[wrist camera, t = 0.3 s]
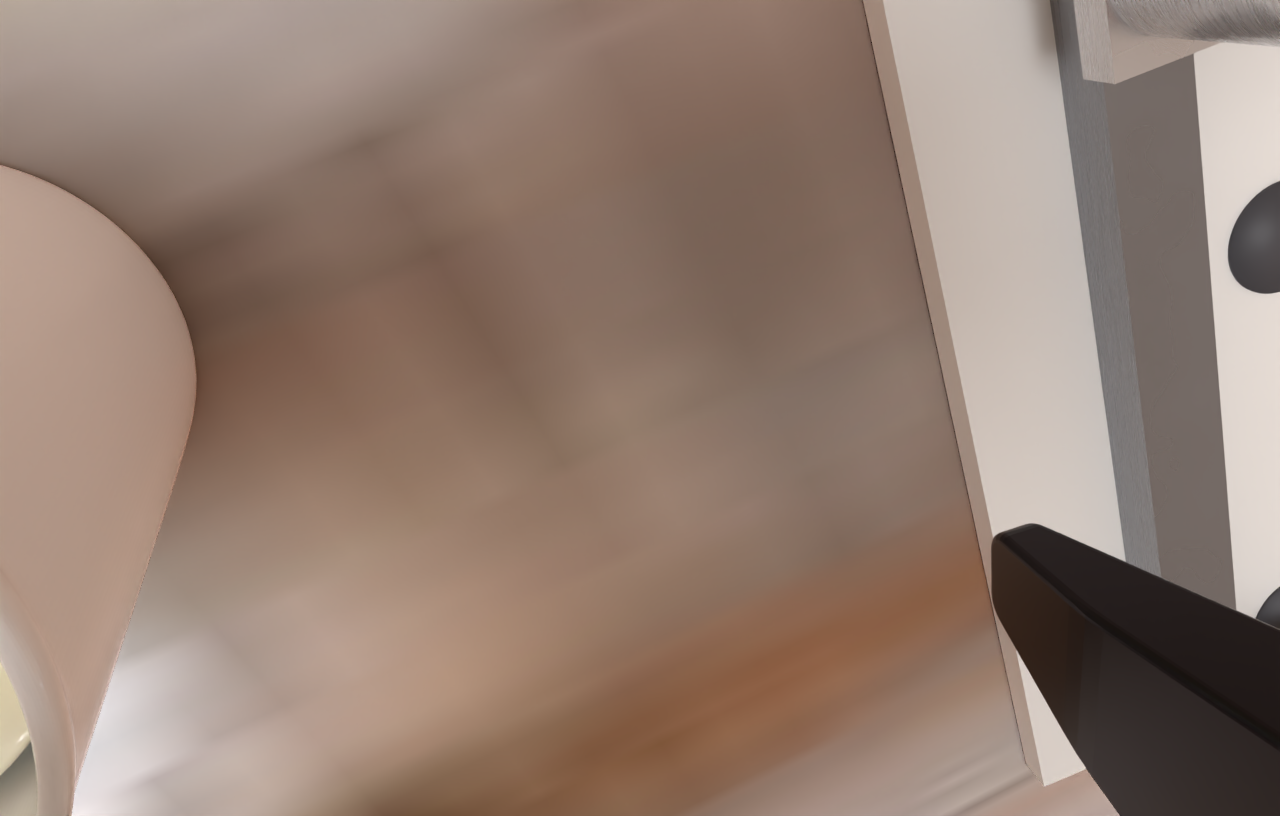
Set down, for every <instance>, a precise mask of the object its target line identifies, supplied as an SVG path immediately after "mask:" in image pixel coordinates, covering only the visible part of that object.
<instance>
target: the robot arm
mask: <svg viewBox="0 0 1280 816" xmlns="http://www.w3.org/2000/svg"><path fill="white" fill-rule="evenodd" d="M991 594H992V601H993V605H994V608H995V611H996V614H997V616H998V618H999V620H1000V622H1001V624H1002V626H1003V627H1004V629H1005V631H1006V633H1007V634H1008V636H1009V638H1010V640H1011V641H1012V643H1013V645H1014V647H1015V648H1016V650H1017V652H1018V654H1019V655H1020V657H1021V659H1022V661H1023V662H1024V664H1025V666H1026V668H1027V669H1028V671H1029V673H1030V675H1031V676H1032V678H1033V680H1034V682H1035V684H1036V685H1037V687H1038V689H1039V691H1040V692H1041V694H1042V696H1043V698H1044V699H1045V701H1046V703H1047V705H1048V706H1049V708H1050V710H1051V712H1052V713H1053V715H1054V717H1055V719H1056V720H1057V722H1058V724H1059V726H1060V727H1061V729H1062V731H1063V733H1064V734H1065V736H1066V738H1067V739H1068V741H1069V743H1070V744H1071V746H1072V748H1073V749H1074V751H1075V753H1076V754H1077V756H1078V757H1079V759H1080V760H1081V761H1082V763H1083V764H1084V766H1085V767H1086V769H1087V770H1088V772H1089V773H1090V775H1091V776H1092V777H1093V779H1094V780H1095V782H1096V783H1097V784H1098V786H1099V787H1100V789H1101V790H1102V791H1103V793H1104V794H1105V795H1106V797H1107V798H1108V800H1109V801H1110V802H1111V804H1112V805H1113V807H1114V808H1115V809H1116V811H1117V812H1118V813H1119V815H1120V816H1280V629H1278V628H1276V627H1274V626H1271V625H1269V624H1267V623H1264V622H1262V621H1260V620H1258V619H1255V618H1253V617H1251V616H1248V615H1246V614H1244V613H1242V612H1239V611H1237V610H1235V609H1232V608H1230V607H1228V606H1226V605H1223V604H1221V603H1219V602H1216V601H1214V600H1212V599H1210V598H1207V597H1205V596H1203V595H1200V594H1198V593H1196V592H1194V591H1191V590H1189V589H1187V588H1184V587H1182V586H1180V585H1178V584H1175V583H1173V582H1171V581H1168V580H1166V579H1164V578H1162V577H1159V576H1157V575H1155V574H1152V573H1150V572H1148V571H1146V570H1143V569H1141V568H1139V567H1136V566H1134V565H1132V564H1130V563H1127V562H1125V561H1123V560H1120V559H1118V558H1116V557H1114V556H1111V555H1109V554H1107V553H1104V552H1102V551H1100V550H1098V549H1095V548H1093V547H1091V546H1088V545H1086V544H1084V543H1082V542H1079V541H1077V540H1075V539H1072V538H1070V537H1068V536H1066V535H1063V534H1061V533H1059V532H1056V531H1054V530H1052V529H1050V528H1047V527H1045V526H1043V525H1040V524H1035V523H1028V524H1025V525H1021V526H1018V527H1015V528H1012V529H1009V530H1006V531H1003V532H1000V533H998V534H996V535H995V536H994V538H993V540H992V544H991Z"/></svg>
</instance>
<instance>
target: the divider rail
mask: <svg viewBox="0 0 1280 816" xmlns="http://www.w3.org/2000/svg"><path fill="white" fill-rule="evenodd" d="M1050 6H1051V13H1052V21H1053V28H1054V36H1055V43H1056V50H1057V58H1058V65H1059V72H1060V80H1061V87H1062V95H1063V102H1064V109H1065V117H1066V124H1067V132H1068V139H1069V146H1070V154H1071V161H1072V168H1073V176H1074V183H1075V191H1076V198H1077V205H1078V213H1079V220H1080V227H1081V235H1082V242H1083V250H1084V257H1085V264H1086V272H1087V279H1088V287H1089V294H1090V301H1091V309H1092V316H1093V323H1094V331H1095V338H1096V346H1097V353H1098V360H1099V368H1100V375H1101V383H1102V390H1103V397H1104V405H1105V412H1106V419H1107V427H1108V434H1109V442H1110V449H1111V456H1112V464H1113V471H1114V478H1115V486H1116V493H1117V501H1118V508H1119V515H1120V523H1121V530H1122V538H1123V545H1124V552H1125V560H1126V562H1127V563H1130V564H1132V565H1134V566H1136V567H1139V568H1141V569H1143V570H1146V571H1148V572H1150V573H1152V574H1155V575H1157V576H1159V577H1162V578H1164V579H1166V580H1168V581H1171V582H1173V583H1175V584H1178V585H1180V586H1182V587H1184V588H1187V589H1189V590H1191V591H1194V592H1196V593H1198V594H1200V595H1203V596H1205V597H1207V598H1210V599H1212V600H1214V601H1216V602H1219V603H1221V604H1223V605H1226V606H1228V607H1230V608H1232V609H1235V610H1236V598H1235V585H1234V572H1233V559H1232V546H1231V533H1230V520H1229V507H1228V494H1227V481H1226V468H1225V455H1224V442H1223V429H1222V416H1221V403H1220V390H1219V377H1218V364H1217V351H1216V338H1215V325H1214V312H1213V299H1212V286H1211V273H1210V261H1209V248H1208V235H1207V222H1206V209H1205V196H1204V183H1203V170H1202V157H1201V144H1200V131H1199V118H1198V105H1197V92H1196V79H1195V66H1194V53H1193V54H1191V55H1188V56H1186V57H1183V58H1181V59H1178V60H1176V61H1173V62H1170V63H1168V64H1165V65H1163V66H1160V67H1158V68H1155V69H1153V70H1150V71H1147V72H1145V73H1142V74H1140V75H1137V76H1135V77H1132V78H1130V79H1127V80H1124V81H1122V82H1119V83H1117V84H1111V83H1105V82H1098V81H1092V80H1085V79H1083V74H1082V66H1081V58H1080V50H1079V42H1078V34H1077V26H1076V18H1075V10H1074V2H1073V0H1050Z"/></svg>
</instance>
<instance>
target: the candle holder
mask: <svg viewBox="0 0 1280 816" xmlns="http://www.w3.org/2000/svg"><path fill="white" fill-rule="evenodd" d="M195 401H196V364H195V357H194V351H193V346H192V341H191V337H190V334H189V330H188V327H187V324H186V321H185V319H184V316H183V314H182V311H181V309H180V307H179V305H178V303H177V301H176V299H175V297H174V295H173V293H172V291H171V289H170V288H169V286H168V284H167V283H166V281H165V280H164V278H163V277H162V275H161V274H160V272H159V271H158V269H157V268H156V267H155V265H154V264H153V263H152V261H151V260H150V259H149V258H148V256H147V255H146V254H145V253H144V252H143V251H142V250H141V248H140V247H139V246H138V245H137V244H136V243H135V242H134V241H133V240H132V239H131V238H130V237H129V236H128V235H127V234H126V233H125V232H124V231H122V230H121V229H120V228H119V227H118V226H117V225H116V224H114V223H113V222H112V221H111V220H109V219H108V218H107V217H106V216H104V215H103V214H102V213H100V212H99V211H97V210H96V209H95V208H93V207H92V206H90V205H89V204H87V203H86V202H84V201H82V200H81V199H79V198H78V197H76V196H74V195H72V194H71V193H69V192H67V191H65V190H63V189H61V188H59V187H57V186H55V185H53V184H51V183H49V182H47V181H44V180H42V179H40V178H37V177H35V176H32V175H30V174H27V173H24V172H22V171H19V170H16V169H13V168H9V167H6V166H2V165H0V816H71V815H72V808H73V801H74V793H75V789H76V786H77V783H78V780H79V777H80V773H81V770H82V767H83V764H84V761H85V758H86V755H87V752H88V748H89V745H90V742H91V739H92V736H93V733H94V730H95V727H96V724H97V721H98V718H99V715H100V712H101V708H102V705H103V702H104V699H105V696H106V693H107V690H108V687H109V684H110V681H111V678H112V675H113V672H114V669H115V665H116V662H117V659H118V656H119V653H120V650H121V647H122V644H123V641H124V638H125V635H126V632H127V629H128V626H129V623H130V619H131V616H132V613H133V610H134V607H135V604H136V601H137V598H138V595H139V592H140V589H141V586H142V583H143V580H144V577H145V573H146V570H147V567H148V564H149V561H150V558H151V555H152V552H153V549H154V546H155V543H156V540H157V537H158V534H159V530H160V527H161V524H162V521H163V518H164V515H165V512H166V509H167V506H168V503H169V499H170V496H171V493H172V490H173V487H174V484H175V481H176V477H177V474H178V471H179V468H180V465H181V461H182V458H183V455H184V451H185V448H186V444H187V441H188V437H189V433H190V429H191V425H192V420H193V415H194V409H195Z"/></svg>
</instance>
